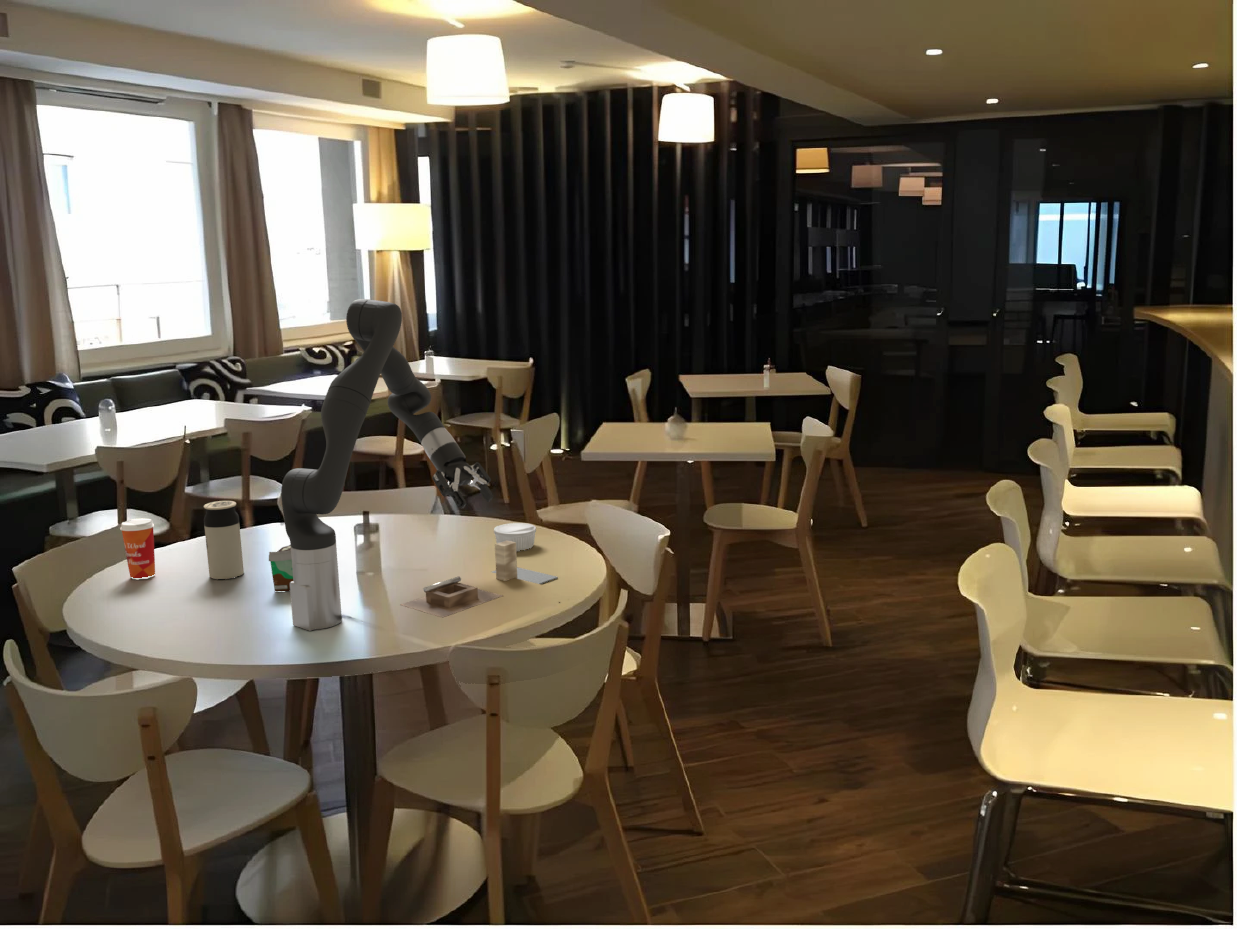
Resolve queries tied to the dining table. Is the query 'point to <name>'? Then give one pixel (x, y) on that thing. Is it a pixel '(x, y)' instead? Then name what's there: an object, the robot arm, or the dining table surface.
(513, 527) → the ramekin
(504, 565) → the tan wooden block
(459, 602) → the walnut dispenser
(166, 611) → the dining table surface
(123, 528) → the paper cup
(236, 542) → the travel mug
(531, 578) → the rubber mat
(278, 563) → the food container
